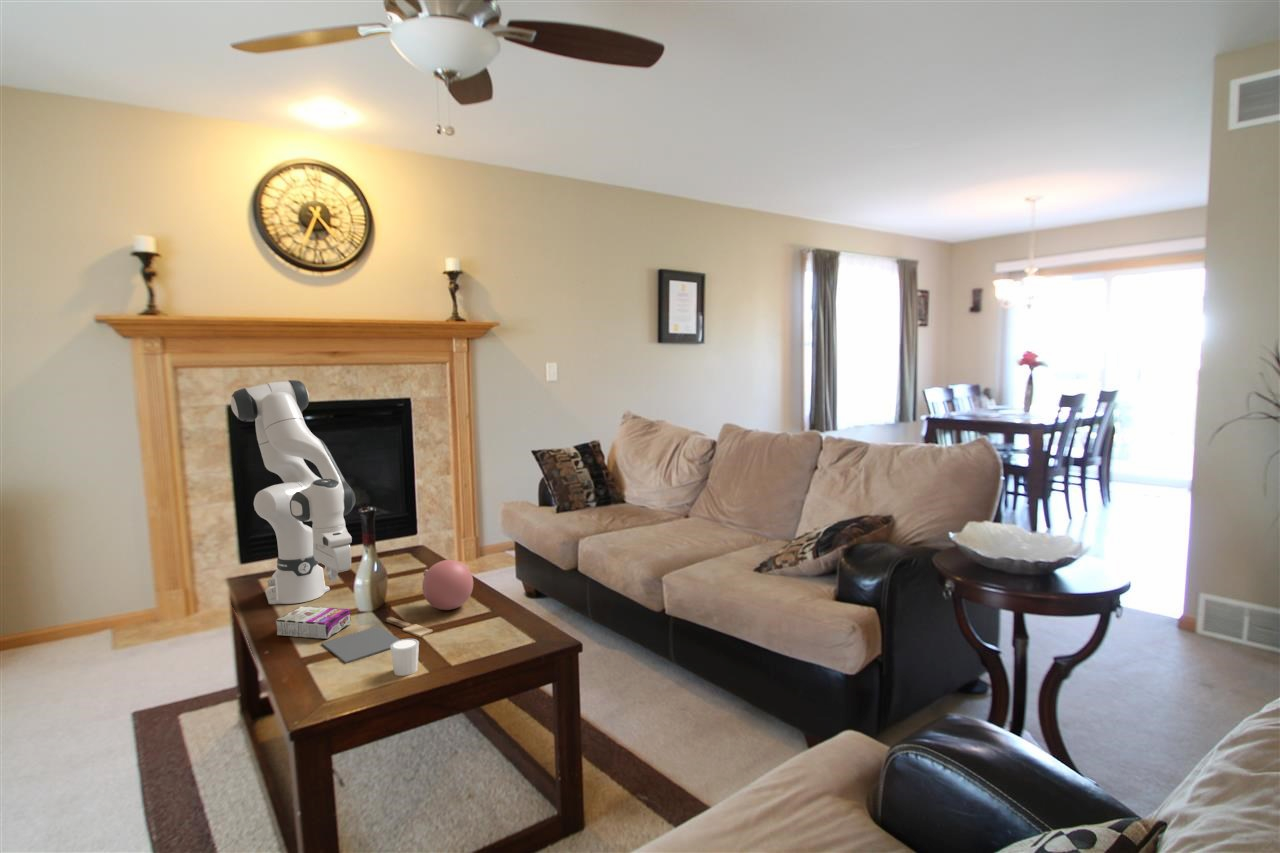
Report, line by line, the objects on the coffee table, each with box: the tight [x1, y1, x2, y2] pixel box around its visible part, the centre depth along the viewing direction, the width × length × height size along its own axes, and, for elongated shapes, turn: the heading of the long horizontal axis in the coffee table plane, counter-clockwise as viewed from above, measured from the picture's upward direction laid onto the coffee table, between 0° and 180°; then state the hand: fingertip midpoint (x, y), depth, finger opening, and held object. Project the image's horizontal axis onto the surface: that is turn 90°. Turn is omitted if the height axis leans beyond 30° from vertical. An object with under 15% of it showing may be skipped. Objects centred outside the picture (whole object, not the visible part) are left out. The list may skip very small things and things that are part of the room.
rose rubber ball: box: [421, 559, 474, 611], centre depth 209 cm, size 15×20×15 cm
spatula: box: [385, 616, 434, 638], centre depth 193 cm, size 18×4×1 cm, turn 55°
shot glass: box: [390, 638, 420, 677], centre depth 166 cm, size 7×7×7 cm
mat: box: [321, 625, 401, 664], centre depth 182 cm, size 17×16×1 cm
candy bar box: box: [275, 605, 352, 640], centre depth 192 cm, size 11×5×16 cm
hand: (332, 580), depth 195 cm, fingers closed
